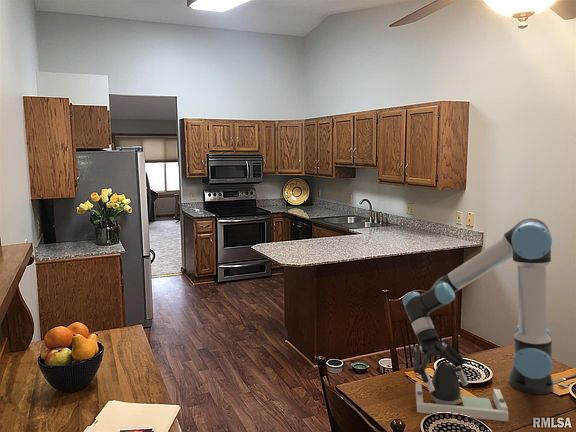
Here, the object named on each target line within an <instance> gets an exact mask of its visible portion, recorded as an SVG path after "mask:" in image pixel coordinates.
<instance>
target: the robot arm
mask: <svg viewBox="0 0 576 432" xmlns="http://www.w3.org/2000/svg"><path fill="white" fill-rule="evenodd" d="M552 245H553V238H552V235H551V232H550V230H549V228H548V226H547V225H546V224H545V222H543V221H542V220H539V219H538V218H526V219H522V220H521V221H519V222H517V223H516V224H515V225H514V226H513V227H512V228H510V229H509V230H507V232H504V233H503V234H502V238H501V239H499V240H498V241H496V242H494V243H493V244H491V245H490V246H488V247H487V248H485V249H484V250H482V251H481V252H479V253H478V254H476V255H475V256H473V257H472V258H470V259H468V260H466V261H465V262H464V263H462V264H461V265H459V266H457V267H456V268H454V269H453V270H452V271H450V272H449V273H447V274H446V275H443V276H442V277H440V278H439V277H438V278H437V279H436V280H435V282H434V283H433V285H432V286H431V288H430V289H429V290H427V291H425V292H423V293H420V292H417V291H413V292H410V293H406V294H405V295H404V296H403V297H402V299H401V301H402V305H403V307H404V310H405V313H406V315H407V317H408V319H409V322H410V324H411V326H412V327H411V328H412V329H413V331H414V334H415V336H416V339H417V342H418V344H416V345H415V346H414V347H413V352H414V364H413V372H414V374H418V375H419V376H420V377H421V379H422V381H423V383H425V385H426V387H427V389H428V392H429V393H430V394H431V392H433V391H434V390H435V389H434V386H433V384H432V378H431V377H430V374H429V371H427V370H426V369H427V365H428V362H429V359H430V358H433V357H438V356H439V357H442V358H443V359H445V360H446V362H447V361H448V363H450V364H451V365H452V366H453V367H455V368H461V369H462V370H461V371H458V372H456V374H457V377H458V380H459V382H460V383H461V385H462V387H465V386H467V385H468V384H469V382H468V379H467V378H466V370H464V367H463V365H464V364H465V363H466V360H465V359H464V357H463V356H461V355H460V353H458V351H456V349H454V347H453V346H452V345H451V343H450V342H449V340H444V341H442V342H441V341H440V338H439V334H438V332H437V330H436V329H435V325H434V324H433V321H432V319H431V317H430V313H432V312H434V311H436V310H437V309H440V308H441V307H444V306H447V305H449V304H450V303H451V302H453V301H454V300H455V299H456V294H455V293H456V292H458V291H460V290H461V289H462V288H464V287H466V286H468V285H469V284H471V283H472V282H474V281H476V280H478V279H479V278H480V277H483V275H485V274H487V273H488V272H491V271H492V270H493V269H495V268H497V267H499V266H500V265H502V264H503V263H505V262H506V261H508V260H510V259H511V258H512V261H513V262H514V263H515V264H516V265H517V298H518V299H517V300H518V301H517V303H518V306H517V310H518V324H517V325H516V326H515V331H514V334H513V345H514V347H513V352H514V353H513V354H514V356H513V365H512V367H511V369H510V371H509V373H508V383H509V384H510V386H511V387H513V388H515V389H517V390H519V391H521V392H523V393H527V394H533V395H535V394H536V395H547V394H550V393H552V392H553V391H554V380H553V377H552V373H551V372H552V370H553V366H554V362H553V356H552V354H553V352H552V350H553V349H552V343H553V342H552V334H551V330H550V329H549V328H547V271H546V270H547V266H548V264H550V263H551V261H552ZM421 352H423V358H422V361H421V355H422V354H421Z"/></svg>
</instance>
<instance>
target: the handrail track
mask: <svg viewBox="0 0 576 432" xmlns="http://www.w3.org/2000/svg"><path fill="white" fill-rule="evenodd" d="M492 393H493V395H492V400H493V402H494V405H495V409H494V408H493V406H492V403H491V401H490V398H485V397H477V396H475V397H474V396H465V395H460V399H461V398H462V399H461V402H462V405H463V406H461V405H444V404H437V403H432V402H431V403H430V402H424V396H423V386H422V382H416V381H415V401H416V412H417V414H418V413H420V414H428V415H429V414H430V415H432V414H431V413H437V412H451V413H458V414H463V415H467V416H470V417H473V418H472V419H479V420H488V421H489V420H492V421H498V422H499V421H500V422H509V414H510V413H509V411H508V409H509V408H508V406H507V403H506V402H505V401H506V400H505V399H504V397H503V394H502V391H501V390H500V389H499V388H493V392H492Z"/></svg>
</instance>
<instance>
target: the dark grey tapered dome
mask: <svg viewBox="0 0 576 432" xmlns="http://www.w3.org/2000/svg"><path fill="white" fill-rule="evenodd" d="M461 370H462V369H461V368H456V367H454V365H453V364H452V363H450V362H449V361H448V362H447V361H441V362H440V363H439V364H438V365H437V366H436V368H435V371H434V372H433V375H432V378H431V381H432V384H433V386H434V389H435V390H434V391H433V392H431V393H430V395H431V398H432V399H433V402H435V404H444V405H454V406H456V405H457V404H458V402H459V400H460V399H461V387H460V386H461V385H460V379H459V376H458V374H457V372H458V371H461Z"/></svg>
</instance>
